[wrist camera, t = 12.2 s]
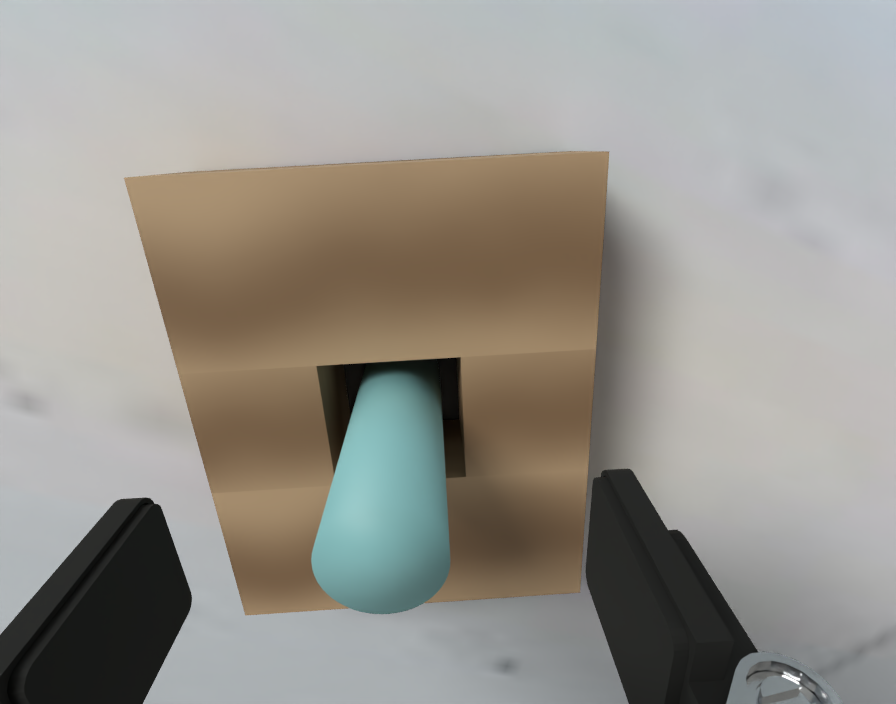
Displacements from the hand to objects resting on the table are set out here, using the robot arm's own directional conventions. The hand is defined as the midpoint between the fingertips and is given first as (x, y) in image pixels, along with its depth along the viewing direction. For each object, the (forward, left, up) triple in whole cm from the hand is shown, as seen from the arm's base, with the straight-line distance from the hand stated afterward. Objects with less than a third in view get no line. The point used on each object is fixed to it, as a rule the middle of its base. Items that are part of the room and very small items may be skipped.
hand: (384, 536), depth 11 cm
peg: (+1, 0, -10) cm, 10 cm away
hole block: (+1, 0, -10) cm, 10 cm away
